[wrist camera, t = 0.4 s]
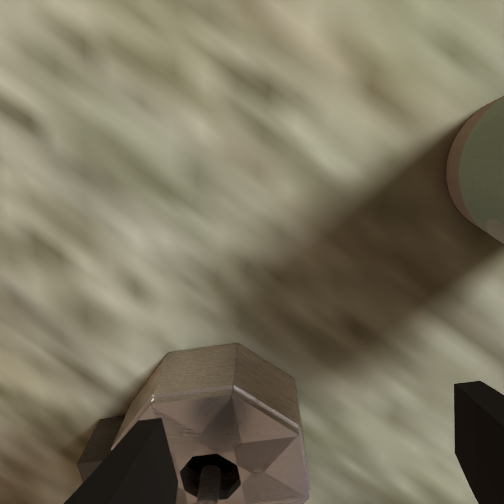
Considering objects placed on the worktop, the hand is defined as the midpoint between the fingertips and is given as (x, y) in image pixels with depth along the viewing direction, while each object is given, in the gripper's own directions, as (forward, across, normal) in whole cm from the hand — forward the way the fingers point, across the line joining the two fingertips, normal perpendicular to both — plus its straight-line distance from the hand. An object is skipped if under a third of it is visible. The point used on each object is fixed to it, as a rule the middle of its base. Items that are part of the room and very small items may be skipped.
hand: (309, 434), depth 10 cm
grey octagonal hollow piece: (+10, +4, +7) cm, 13 cm away
